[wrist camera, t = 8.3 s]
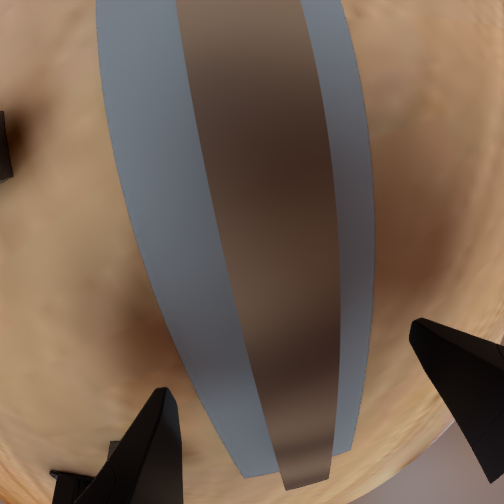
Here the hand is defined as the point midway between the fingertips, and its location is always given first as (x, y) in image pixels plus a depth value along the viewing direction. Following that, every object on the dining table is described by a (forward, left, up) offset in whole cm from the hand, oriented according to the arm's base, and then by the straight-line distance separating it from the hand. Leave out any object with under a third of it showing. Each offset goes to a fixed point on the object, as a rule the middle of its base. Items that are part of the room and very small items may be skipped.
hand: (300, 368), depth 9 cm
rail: (0, 0, -3) cm, 3 cm away
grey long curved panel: (0, 0, -4) cm, 4 cm away
